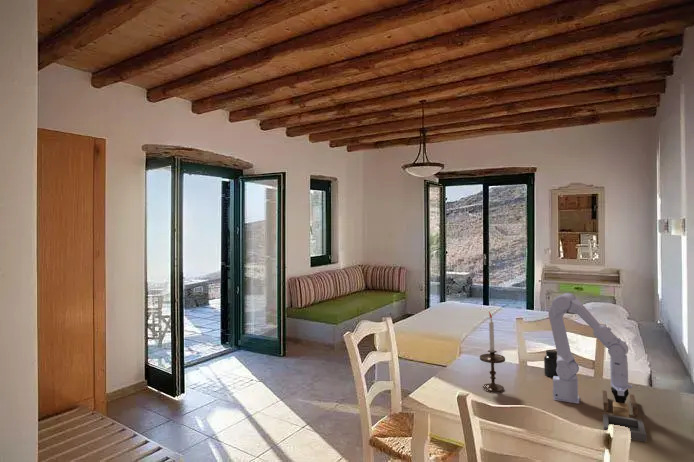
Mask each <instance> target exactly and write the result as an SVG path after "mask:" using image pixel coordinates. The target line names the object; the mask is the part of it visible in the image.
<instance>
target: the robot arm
mask: <svg viewBox="0 0 694 462" xmlns="http://www.w3.org/2000/svg"><path fill="white" fill-rule="evenodd" d="M567 312H568V313H571V314H575V315H577V316H579V318H580V319H582V320H583V322H585V323H586V324H587V325H588V326H589V327H590V328H591V329H592V330H593V331H592V332H593V335H594V336H595V338H597V340H599V341H600V343H602V345H603V346H604V347H605V348H606V349H607V352H608V355H609V357H610V358H609V359H610V360H609V363H610V364H609V367H610V369H609V370H610V383H609V385H610V386H611V388H610V390H611V393H612V395H613V397H614V402H620V403H626V400H627V398H628V397H629V395H630V393H629V389H633V385H632V384H629V370H628V369H629V363H628V355H627V354H628V353H629V346H628V344H627V343H626V342H625V341H623V340H622V339H621V338H620V337H617V335H616V334H614V332H613V331H612V328H611V327H610V326H607V325H605V324H600V322H599V321H598V320H597V318H595V317H594V315H592V313H591V312H590V311H589V310H588V309H587V308H586V306H585V305H584V304H583V303H582V302H581V300H580V299H578V298H577V297H576V295H574V294H573V293H572V292H571V293H570V292H565V293H563V294H560V295H558V296H555V298H554V299H553V300H552V301H551V305H550V308H549V311H548V318H549V322H550V326H551V327H550V328H551V332H552V336H553V337H552V338H553V339H554V345H555V348H556V349H555V351H557V368H556V372H557V375H558V376H553V378H552V399H553V400H554V401H559V402H567V403H571V404H580V396H579V385H578V384H579V383H578V382H579V379H578V376H577V373H579V370H580V366H579V364H578V363H577V361H576V359H575V356H574V355H573V354H572V351H571V347H570V343H569V339H568V335H567V334H568V333H567V330H566V326H565V321H564V315H565V314H566V313H567Z"/></svg>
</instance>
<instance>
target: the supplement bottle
mask: <svg viewBox="0 0 694 462" xmlns="http://www.w3.org/2000/svg"><path fill="white" fill-rule="evenodd" d="M557 357H558V354H557V350H556V349H555V350H554V349H546V351H545V356H543V361H544V362H543V363H544V364H543V370H544V376H546V377H549V378H552V379H553V376H558V375H557V372H556V368H557Z"/></svg>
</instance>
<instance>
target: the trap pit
mask: <svg viewBox="0 0 694 462" xmlns="http://www.w3.org/2000/svg"><path fill="white" fill-rule="evenodd" d="M602 423H603V431H604V430H607V429H608V425H609V424H614V425H620V426H625V427H628V428H630V431H631V438H632V439H631V440H633V439H634V441H638V440H640V441H639V442H644V441H646V442H645V443H647V440H648V439H647V433H646V428H645V424H644V421H643V420H642V419H638V418H632V417H629V418H627V417H621V416H615V415H613V414H609V413H608V414H607V413H602Z"/></svg>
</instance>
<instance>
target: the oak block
mask: <svg viewBox="0 0 694 462" xmlns="http://www.w3.org/2000/svg"><path fill="white" fill-rule="evenodd" d="M612 415H615V416H621V417H627V418H630V407H629V403H626V402H625V403H620V402H616V401H612Z"/></svg>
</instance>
